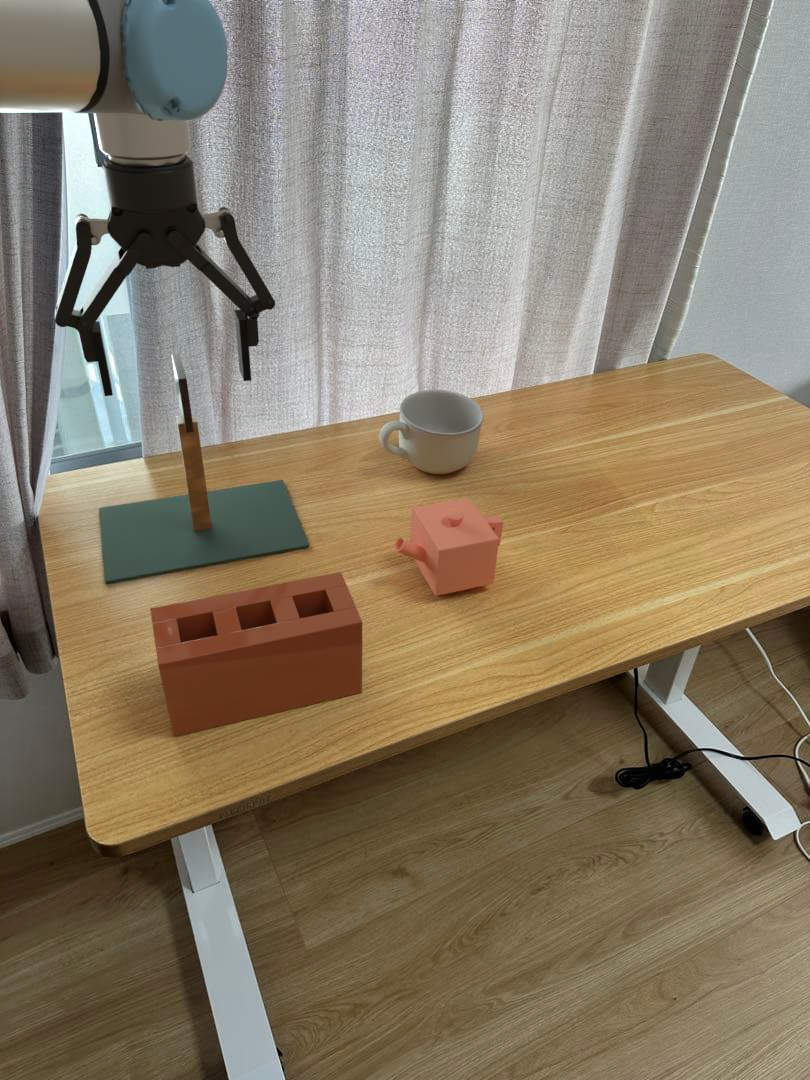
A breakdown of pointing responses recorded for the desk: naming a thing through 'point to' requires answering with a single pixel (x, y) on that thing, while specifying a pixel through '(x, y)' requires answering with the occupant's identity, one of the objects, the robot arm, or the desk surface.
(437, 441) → the teacup
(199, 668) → the holder
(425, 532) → the pink cube teapot
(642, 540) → the desk surface
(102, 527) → the mat
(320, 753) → the desk surface
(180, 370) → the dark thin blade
